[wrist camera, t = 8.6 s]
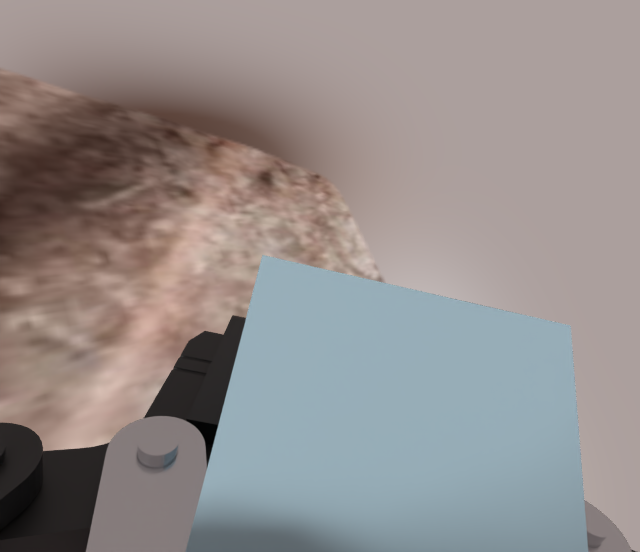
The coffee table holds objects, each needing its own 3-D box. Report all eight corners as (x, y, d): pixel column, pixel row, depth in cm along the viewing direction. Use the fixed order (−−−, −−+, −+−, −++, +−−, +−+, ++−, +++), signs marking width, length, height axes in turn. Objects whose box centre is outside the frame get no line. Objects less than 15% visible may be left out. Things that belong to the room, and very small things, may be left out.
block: (220, 512, 14) (150, 690, 4) (253, 377, 16) (262, 255, 6) (350, 535, 14) (603, 755, 4) (367, 401, 16) (570, 325, 6)
